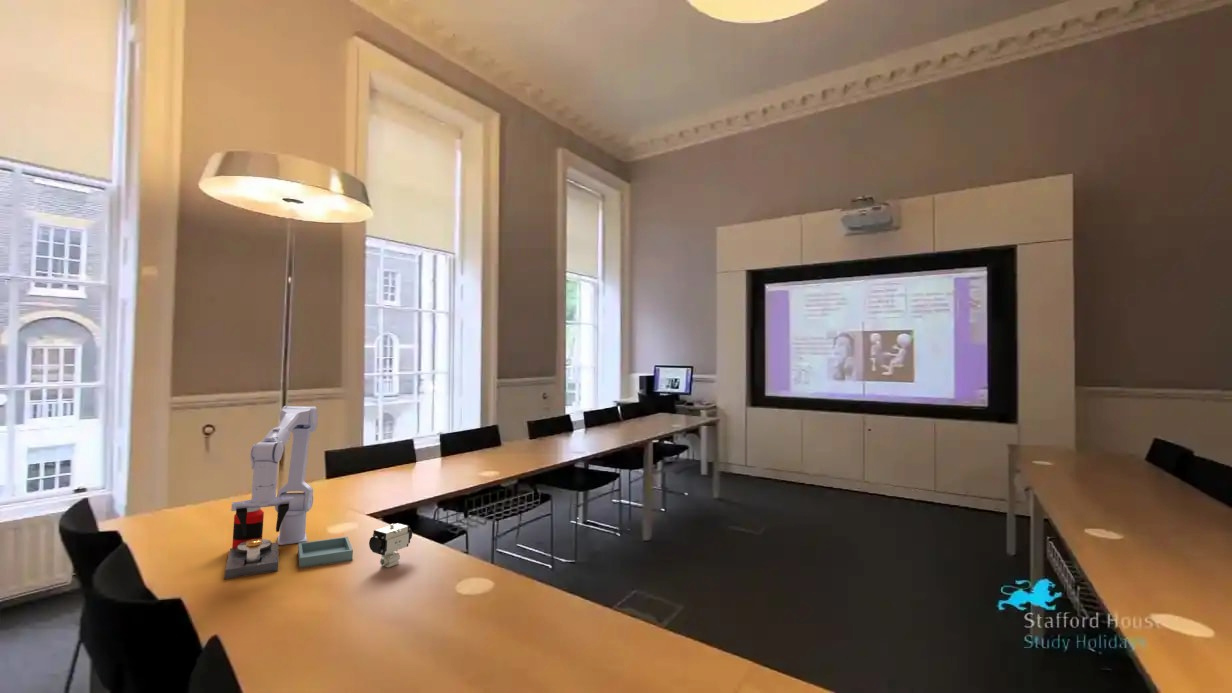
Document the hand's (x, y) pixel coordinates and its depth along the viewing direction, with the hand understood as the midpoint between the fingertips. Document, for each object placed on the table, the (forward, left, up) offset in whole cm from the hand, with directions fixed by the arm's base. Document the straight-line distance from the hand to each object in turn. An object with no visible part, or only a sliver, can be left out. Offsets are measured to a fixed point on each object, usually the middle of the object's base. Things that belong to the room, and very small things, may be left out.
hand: (261, 533), depth 146 cm
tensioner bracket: (-6, -2, -10) cm, 12 cm away
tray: (-3, +16, -10) cm, 20 cm away
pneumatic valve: (+13, +33, -11) cm, 36 cm away
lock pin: (-1, -2, -10) cm, 11 cm away
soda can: (-21, -4, -11) cm, 24 cm away
